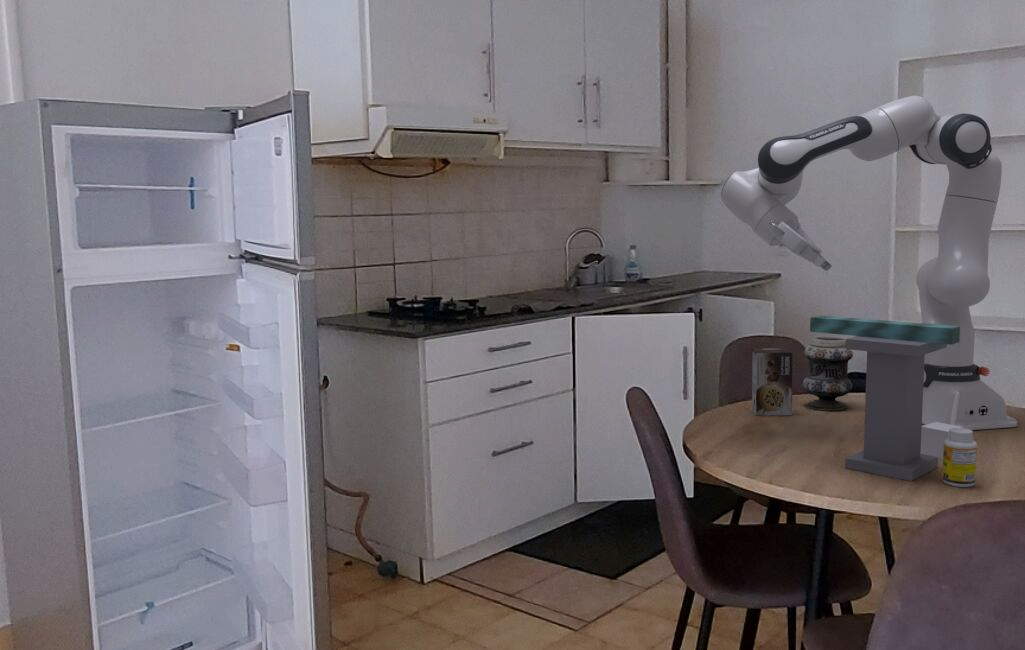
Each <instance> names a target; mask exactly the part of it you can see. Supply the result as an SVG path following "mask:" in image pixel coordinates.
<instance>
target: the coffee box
mask: <svg viewBox="0 0 1025 650" xmlns="http://www.w3.org/2000/svg"><path fill="white" fill-rule="evenodd" d="M751 352H752V362H751V363H752V364H751V365H752V366H751V367H752V369H751V370H752V371H751V374H752V375H751V381H752V382H751V411H752V413H753V414H754V415H755V416H756V417H757V416H758V417H759V416H765V417H766V416H793V375H794V374H793V367H794V366H793V363H794V362H793V360H794V353H793V352H792V351H791V349H790V348H789V347H785V348H783V347H781V348H777V347H776V348H769V347H768V348H763V347H762V348H752V351H751Z"/></svg>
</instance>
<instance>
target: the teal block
mask: <svg viewBox="0 0 1025 650" xmlns="http://www.w3.org/2000/svg"><path fill="white" fill-rule="evenodd" d="M809 319H810V321H809V332H810V333H818V334H819V333H821V334H830V335H843V336H853V337H855V336H862V337H873V338H884V339H895V340H906V341H917V342H928V343H939V344H950V345H952V344H955V343H958V342H959V341H960V326H949V325H936V324H923V323H922V322H921V323H920V322H909V321H908V322H907V321H896V320H882V319H870V318H869V319H868V318H859V317H858V318H855V317H842V316H832V315H831V316H830V315H829V316H828V315H816V316H811V317H810V318H809Z"/></svg>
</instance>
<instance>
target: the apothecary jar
mask: <svg viewBox="0 0 1025 650" xmlns="http://www.w3.org/2000/svg"><path fill="white" fill-rule="evenodd" d="M846 339H847V338H846V337H840V336H831V335H830V336H829V335H828V336H827V335H818V336H817V335H815V336H812V337H811V342H810V344H809V345H808V346H806V348H805V349H804V352H803V353H804V356H805V357H806V358H807V359H808V371H807V372H808V374H807V376H806V377H805V378H804V380H803V382H802V387H803V389H804V390H805V391H806V392H807V393H809V394H810V395H813V396H815V397H817V398H818V399H815V400H813V401H810V402H808V403H807V404H806V406H807V408H810V409H812V410H817V411H828V412H829V411H830V412H831V411H842V410H846V409H847V408H848V405H847V404H846V403H843V402H841V401H839V400H837V398H840V397H843V396H845V395H848V394H849V393H850V392H851V391H852V389H853V383H852V381H851V380H850V379H849V377H848V372H849V371H848V365H849V361H850V360H852V358H853V356H854V352H853V350H850V349H846Z"/></svg>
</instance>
